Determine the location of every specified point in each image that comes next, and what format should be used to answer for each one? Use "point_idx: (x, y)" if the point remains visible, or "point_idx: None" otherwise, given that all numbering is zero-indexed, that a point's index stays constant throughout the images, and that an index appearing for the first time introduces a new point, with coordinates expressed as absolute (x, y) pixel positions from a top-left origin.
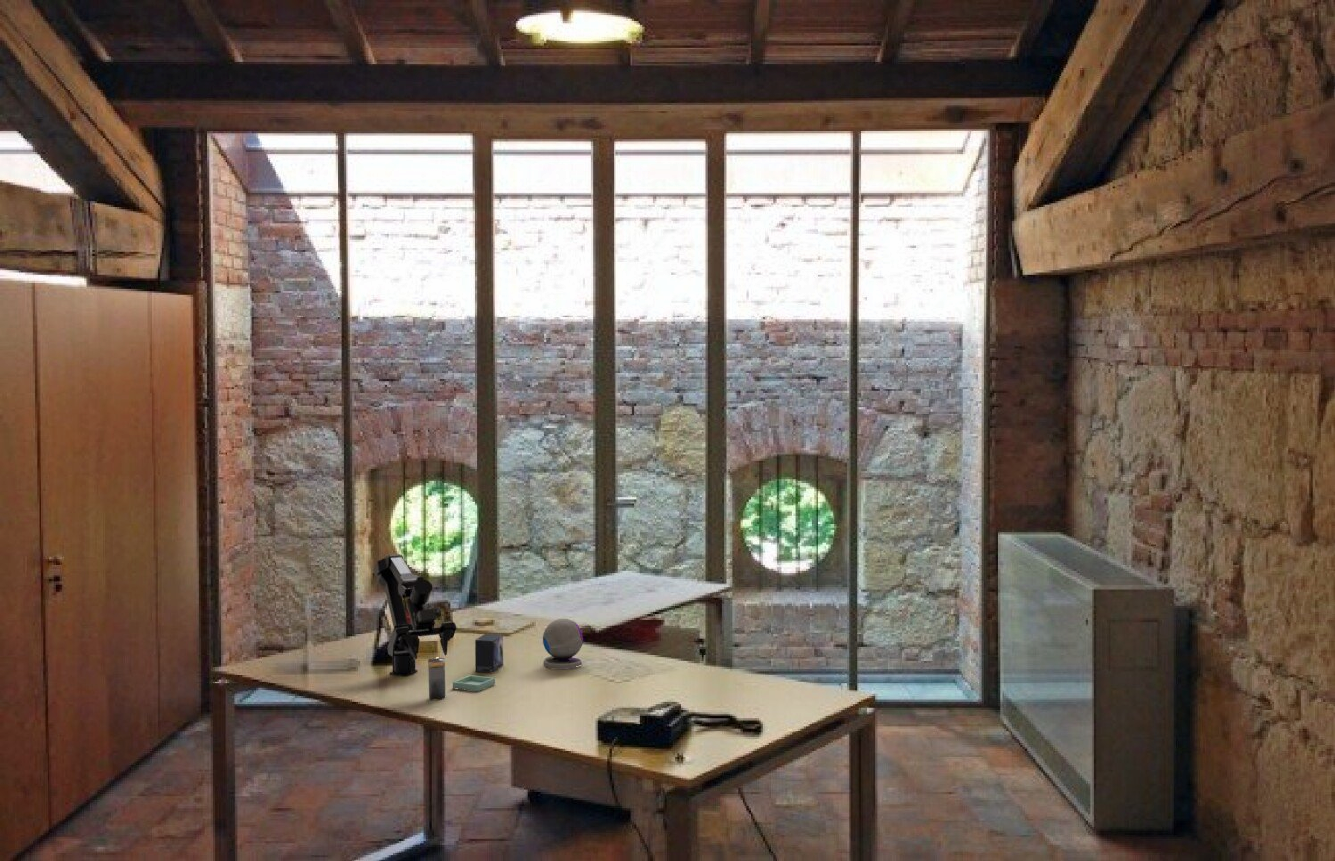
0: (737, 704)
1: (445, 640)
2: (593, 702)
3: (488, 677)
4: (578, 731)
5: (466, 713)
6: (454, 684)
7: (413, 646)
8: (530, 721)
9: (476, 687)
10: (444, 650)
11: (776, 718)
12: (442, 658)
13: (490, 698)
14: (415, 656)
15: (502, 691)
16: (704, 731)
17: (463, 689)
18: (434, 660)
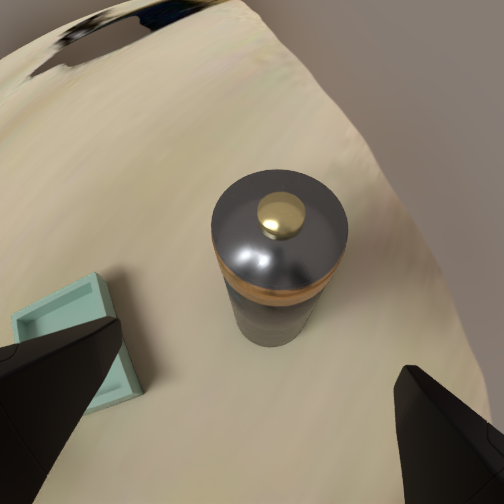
0: (22, 63)
1: (6, 360)
2: (60, 93)
3: (15, 339)
4: (194, 22)
5: (281, 118)
6: (133, 384)
7: (466, 431)
8: (209, 51)
9: (101, 282)
10: (100, 341)
11: (54, 34)
12: (224, 216)
13: (137, 191)
14: (420, 369)
15: (63, 237)
16: (114, 16)
17: (124, 344)
18: (309, 199)
